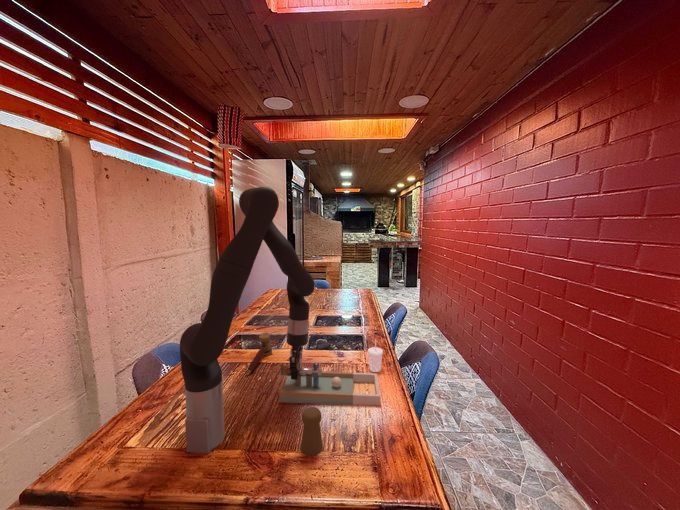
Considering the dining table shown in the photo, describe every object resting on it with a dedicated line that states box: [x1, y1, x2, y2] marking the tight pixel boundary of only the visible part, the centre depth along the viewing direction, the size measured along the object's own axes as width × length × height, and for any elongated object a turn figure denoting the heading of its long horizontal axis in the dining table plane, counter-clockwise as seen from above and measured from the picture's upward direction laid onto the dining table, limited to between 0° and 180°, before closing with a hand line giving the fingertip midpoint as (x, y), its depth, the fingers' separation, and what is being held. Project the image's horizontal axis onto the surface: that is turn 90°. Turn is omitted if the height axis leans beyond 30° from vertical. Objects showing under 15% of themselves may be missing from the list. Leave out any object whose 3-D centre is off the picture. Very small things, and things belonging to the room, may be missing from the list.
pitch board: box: [278, 370, 381, 406], centre depth 99 cm, size 14×34×7 cm, turn 87°
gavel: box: [246, 332, 273, 376], centre depth 119 cm, size 21×5×10 cm, turn 172°
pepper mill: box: [300, 406, 324, 457], centre depth 74 cm, size 6×6×11 cm
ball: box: [332, 377, 341, 387], centre depth 99 cm, size 4×4×4 cm
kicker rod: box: [280, 362, 323, 387], centre depth 99 cm, size 3×14×8 cm, turn 87°
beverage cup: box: [367, 338, 384, 373], centre depth 113 cm, size 6×6×14 cm
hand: (295, 375), depth 99 cm, fingers closed on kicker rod, 3 cm apart
